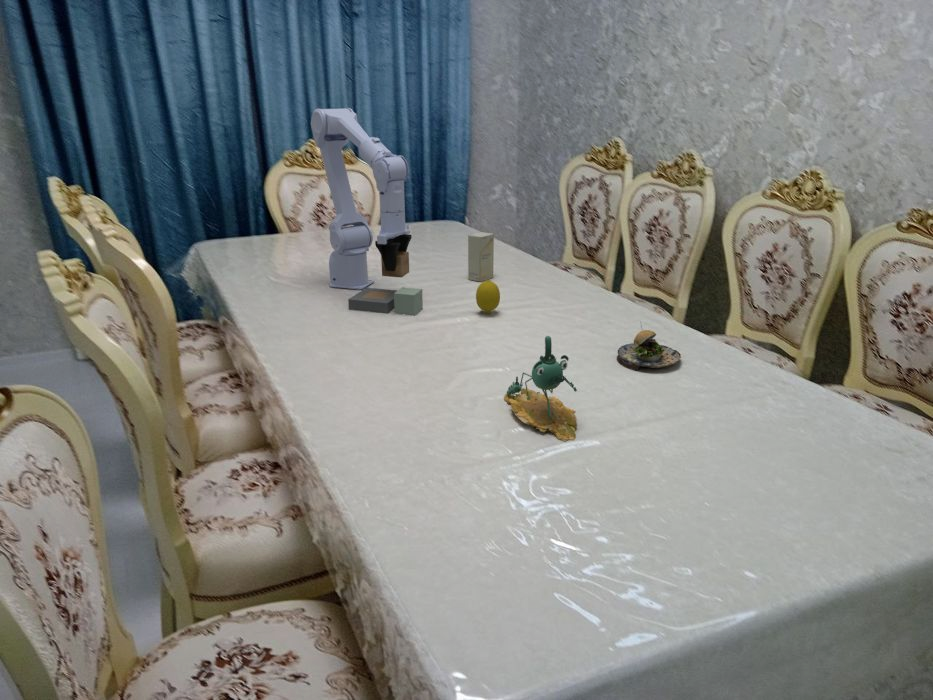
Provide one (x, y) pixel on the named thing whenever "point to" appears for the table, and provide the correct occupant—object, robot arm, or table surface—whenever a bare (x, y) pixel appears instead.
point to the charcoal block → (373, 300)
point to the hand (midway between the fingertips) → (394, 267)
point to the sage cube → (408, 301)
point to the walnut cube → (398, 265)
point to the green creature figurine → (544, 398)
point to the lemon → (487, 296)
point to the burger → (646, 353)
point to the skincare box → (480, 256)
